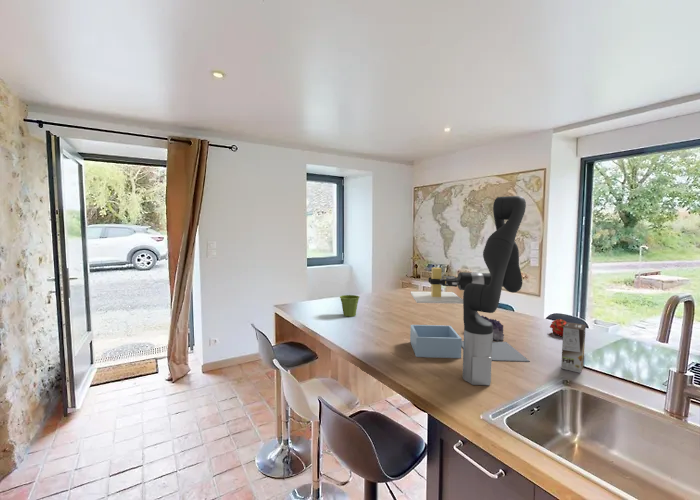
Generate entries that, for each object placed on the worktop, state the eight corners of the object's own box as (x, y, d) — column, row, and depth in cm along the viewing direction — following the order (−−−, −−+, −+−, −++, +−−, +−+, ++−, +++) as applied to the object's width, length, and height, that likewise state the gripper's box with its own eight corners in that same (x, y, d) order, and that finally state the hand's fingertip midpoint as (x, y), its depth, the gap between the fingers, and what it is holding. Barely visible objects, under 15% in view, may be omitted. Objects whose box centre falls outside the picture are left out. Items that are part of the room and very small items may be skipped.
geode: (513, 340, 159) (513, 319, 158) (494, 346, 155) (493, 325, 154) (482, 326, 178) (481, 308, 176) (464, 331, 174) (463, 313, 172)
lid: (465, 303, 134) (466, 271, 133) (416, 302, 135) (417, 270, 134) (452, 294, 153) (453, 265, 152) (410, 293, 154) (411, 265, 153)
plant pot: (363, 314, 202) (363, 296, 201) (352, 319, 192) (352, 299, 191) (346, 312, 208) (346, 293, 207) (335, 316, 198) (335, 297, 197)
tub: (461, 358, 136) (461, 338, 135) (416, 356, 137) (416, 337, 136) (449, 342, 154) (450, 325, 153) (410, 341, 155) (410, 324, 154)
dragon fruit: (553, 334, 173) (570, 345, 161) (541, 325, 171) (558, 336, 160) (564, 321, 172) (582, 332, 160) (553, 312, 170) (570, 322, 159)
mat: (529, 361, 133) (529, 360, 133) (472, 360, 134) (472, 359, 134) (506, 342, 155) (506, 341, 155) (457, 341, 156) (457, 340, 156)
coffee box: (581, 373, 122) (583, 330, 121) (560, 368, 126) (562, 326, 125) (583, 365, 130) (586, 324, 128) (564, 361, 134) (566, 321, 132)
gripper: (465, 270, 149) (426, 269, 150) (476, 274, 135) (432, 274, 136) (465, 287, 150) (426, 286, 151) (475, 293, 136) (432, 292, 137)
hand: (429, 280), depth 143 cm, fingers closed on lid, 3 cm apart
